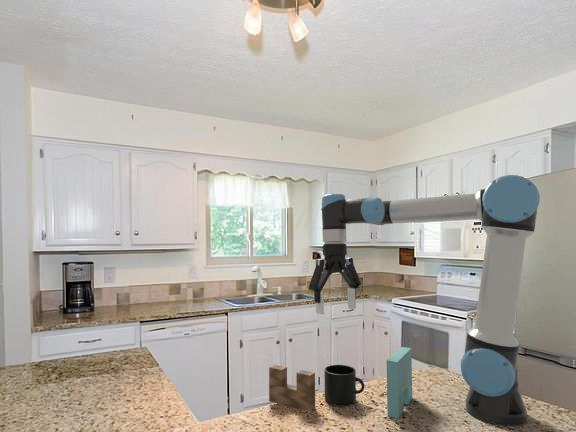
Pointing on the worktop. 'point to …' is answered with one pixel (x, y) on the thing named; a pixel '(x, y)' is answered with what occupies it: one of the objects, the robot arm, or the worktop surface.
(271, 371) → the walnut u-shaped block
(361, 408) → the worktop surface
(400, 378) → the teal flat block
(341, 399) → the mug
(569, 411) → the worktop surface
